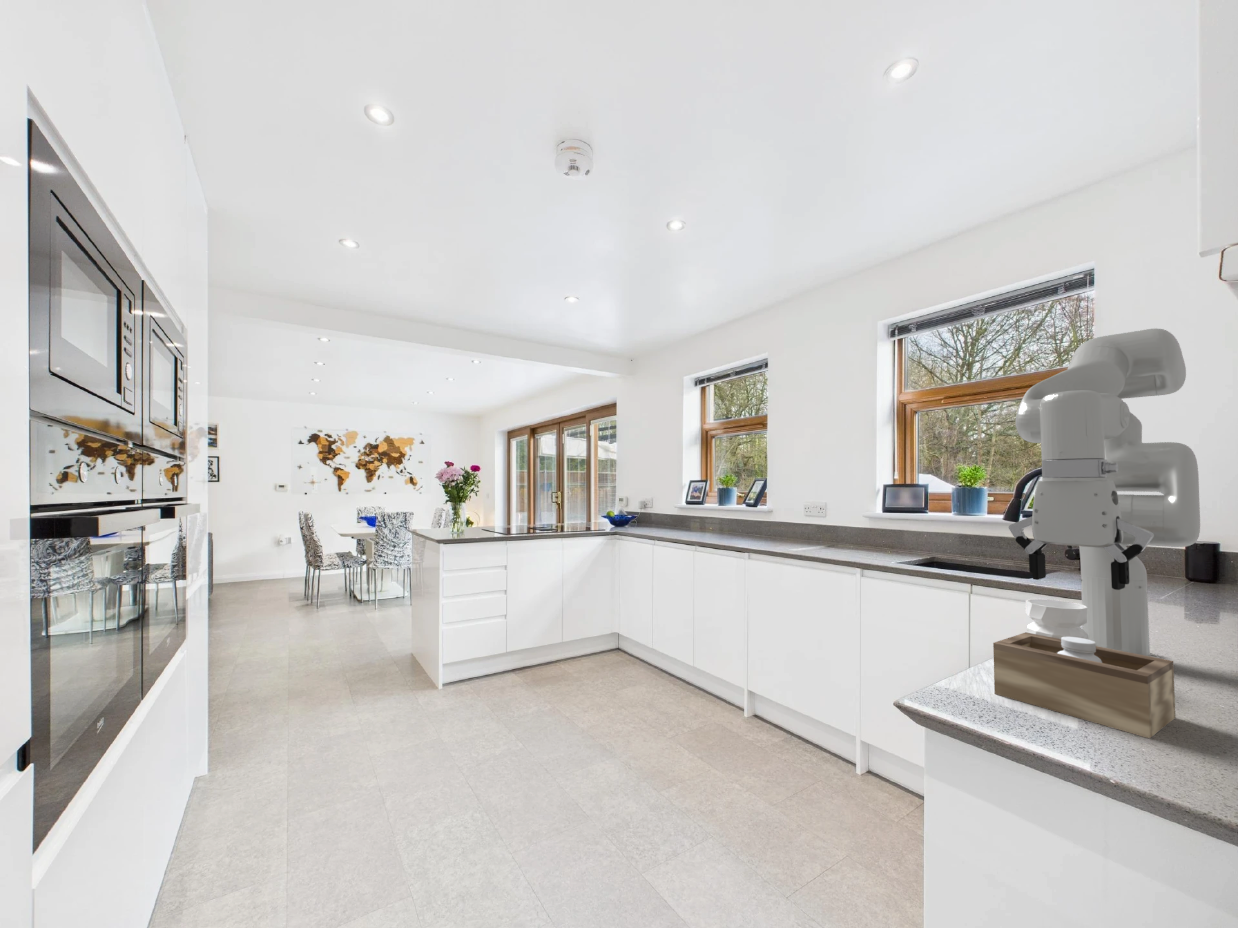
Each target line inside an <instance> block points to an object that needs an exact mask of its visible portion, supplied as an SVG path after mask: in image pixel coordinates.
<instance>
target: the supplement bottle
mask: <svg viewBox="0 0 1238 928" xmlns="http://www.w3.org/2000/svg"><path fill="white" fill-rule="evenodd" d="M1061 645H1062V647H1063V648H1064V650H1062V651H1059V652H1058V654H1062V655H1067V656H1072V657H1076V658H1081V659H1086V660H1090V661H1095V662H1100V663H1102V661H1101V659H1100V658H1099V657H1097V656H1095V655H1094V653H1095V652H1096V651H1095V650H1096V643H1095V642H1094V641H1092V640H1088V639H1084V638H1078V637H1062V638H1061Z"/></svg>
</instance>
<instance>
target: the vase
mask: <svg viewBox="0 0 1238 928" xmlns="http://www.w3.org/2000/svg"><path fill="white" fill-rule="evenodd" d="M1025 615H1027V616H1028V617H1029V618H1030V619H1031V620H1033V621H1032V622H1030V623H1028V624H1027V626H1026V632H1027V633H1032V634H1037V635H1042V636H1047V637H1052V638H1057V639H1061V638H1062V637H1078V638H1084V639H1088V640H1089V637H1088V634H1087V633H1086V632H1085V631H1084V630H1083V628H1081V626H1082V627H1083V625H1084V624H1085V623H1087V607H1086V606H1085V605H1082V603H1076V602H1074V601H1073V602H1072V601H1067V600H1065V601H1064V600H1059V599H1047V598H1046V599H1045V598H1028V599H1026V600H1025Z"/></svg>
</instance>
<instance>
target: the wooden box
mask: <svg viewBox="0 0 1238 928" xmlns="http://www.w3.org/2000/svg"><path fill="white" fill-rule="evenodd" d="M992 644H993V646H992V647H993V678H994V679H993V682H994V683H993V684H994V694H995V695H998V696H1001V697H1004V698H1008V699H1011V700H1015V701H1019V702H1022V703H1025V704H1030V705H1031V706H1036V707H1039V708H1042V709H1043V708H1044V709H1046V710H1050V711H1052V712H1057V713H1060V714H1063V715H1067V716H1070V717H1074V718H1077V719H1081V720H1084V721H1088V722H1090V723H1095V724H1097V725H1102V726H1105V727H1109V728H1112V729H1115V730H1120V731H1122V732H1126V733H1129V734H1134V735H1136V736H1139V737H1143V738H1146V739H1151V738H1152V737H1154V736H1155V735H1156V734H1157V733H1159V731H1161V730H1162V729H1164V728H1165V727H1166V726H1167V725H1168V724H1170V723H1171V722H1172V721H1173V720H1175V719H1176V699H1175V697H1176V695H1175V694H1176V693H1175V673H1174V672H1175V669H1174V660H1170V659H1165V658H1161V657H1160V658H1161V659H1160V658H1155V657H1150V656H1145V655H1140V654H1135V653H1129V652H1124V651H1119V650H1114V649H1109V648H1104V647H1099V646H1096V650H1095V651H1096V652H1095V653H1094V655H1095V656H1097V657H1099V658H1100V659H1101V661H1102V663H1100V662H1095V661H1090V660H1086V659H1081V658H1076V657H1072V656H1067V655H1062V654H1058V652H1059V651H1062V650H1064V648H1063V647H1062V645H1061V639H1057V638H1052V637H1047V636H1042V635H1037V634H1032V633H1027V631H1026V632H1022V633H1019V634H1017V635H1016V634H1015V635H1013V636H1010V637H1006V638H1004V639H1001V640H998V641H994V642H993V643H992Z"/></svg>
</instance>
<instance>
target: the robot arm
mask: <svg viewBox="0 0 1238 928" xmlns="http://www.w3.org/2000/svg"><path fill="white" fill-rule="evenodd" d="M1186 378H1187V367H1186V363H1185V359H1184V357H1183V351H1182V348H1181V345H1180V343H1179V341H1178V339H1177V338H1176V336H1175V335H1174V334H1172V332H1171V331H1168V330H1167V329H1164V328H1148V329H1147V328H1146V329H1143V330H1142V329H1141V330H1134V331H1128V332H1123V333H1115V334H1109V335H1108V334H1107V335H1103V336H1099V337H1094V338H1091V339H1089V340H1087V341H1085V342H1083V343H1081V345H1079V346H1077V348H1076V349H1075V351H1074V353H1073V355H1072V357H1071V360H1070V362H1069V364H1068V367H1067V369H1065V370H1063V371H1060V372H1058V373H1057V374H1054V375H1052V376H1050V377H1048V378H1046V379H1044V380H1042V381H1039V382H1037V383H1035V384H1034V385H1032V386H1031V387H1030V388H1028V389H1027V390H1026V392H1025V394H1023V396H1022V398H1021V401H1020V403H1019V405H1018V407H1017V410H1016V411H1017V412H1016V415H1015V429H1016V432H1017V434H1018V435H1019V437H1020V438H1021V439H1022V440H1023V441H1026V442H1027V443H1033V444H1040V449H1041V450H1040V451H1041V453H1040V454H1041V455H1040V456H1041V476H1042V479H1041V480H1038V481H1037V482H1036V487H1035V492H1034V497H1033V504H1032V505H1033V506H1032V516H1030V517H1029V516H1028V517H1026V518H1024V519H1021V520H1019V521H1016V522H1014V523H1012V524H1010V525H1008V530H1009V531H1010V533H1011V535H1012V536H1013V537H1014V538H1015V539H1014V540H1015V542H1016V543H1017V544H1018V545H1019V546H1020V547H1021V548H1022V549H1023V550H1024V551H1025V553H1026V554H1028V565H1029V566H1028V568H1029V570H1028V571H1029V574H1031V575H1032V579H1033V580H1035V581H1036V580H1037V581H1038V580H1042V579H1045V578H1046V577H1047V574H1046V573H1047V572H1046V554H1045V553H1044V552H1042V550H1044V548H1046V547H1047V546H1048V545H1049V544H1050V545H1058V546H1059V545H1060V546H1061V545H1062V546H1070V547H1071V546H1072V547H1079V558H1080V559H1079V560H1080V584H1081V586H1080V588H1081V590H1080V591H1081V604H1082V605H1085V606H1086V607H1087V623H1085V624H1084V625H1082V629H1083V630H1084V631H1085V632H1086V633H1087V634H1088V637H1089V640H1092V641H1094V642H1095V643H1096V646H1099V647H1104V648H1109V649H1114V650H1119V651H1124V652H1129V653H1135V654H1140V655H1145V656H1150V657H1155V658H1160V659H1162V657H1160V656H1158V655H1157V654H1154V653H1153V652H1151V651H1150V649H1151V648H1150V645H1151V644H1150V626H1149V625H1150V624H1149V623H1150V622H1149V600H1148V599H1149V595H1148V574H1147V573H1148V572H1147V569H1146V567H1145V564H1144V563H1143V561H1142V560H1141V559H1140V558H1139V557H1138V556H1139V555H1140V554H1141V553H1143V552H1144V551H1145V550H1146V548H1147V546H1150V547H1151V546H1152V547H1164V548H1165V547H1170V548H1171V547H1172V548H1184V547H1190V546H1191V545H1194V544H1195V543H1196V542H1197V541H1198V539H1199V537H1200V533H1201V511H1200V510H1201V507H1200V483H1199V482H1200V481H1199V480H1200V479H1199V467H1198V461H1197V457H1196V455H1195V452H1194V451H1193V449H1192V448H1191V447H1190V446H1188V445H1187V444H1184V443H1180V442H1176V441H1175V442H1172V441H1167V442H1165V441H1164V442H1161V441H1160V442H1143V441H1142V440H1143V438H1142V437H1143V435H1142V434H1143V424H1142V422H1141V421H1140V419H1138V417H1137V416H1136V415H1134V414H1133V413H1132V412H1131V411H1130V408H1129V406H1128V404H1127V403H1126V402H1125V401H1124V400H1125V399H1134V398H1136V399H1137V398H1144V397H1145V398H1146V397H1155V396H1158V397H1159V396H1166V395H1170V394H1175V393H1176V392H1178V391H1179V390H1181V389H1182V387H1183V386H1184V384H1185V382H1186ZM1123 399H1124V400H1123ZM1118 492H1133V493H1134V492H1135V493H1136V492H1139V493H1140V492H1141V493H1142V492H1143V493H1145V492H1153V493H1155V492H1156V493H1161V494H1125V493H1123V494H1118ZM1030 527H1031V530H1032V537H1033V540H1031V539H1030V538H1029V537H1028V536H1026V533H1025V532H1024V529H1027V528H1030ZM1127 546H1129V547H1127Z"/></svg>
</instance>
